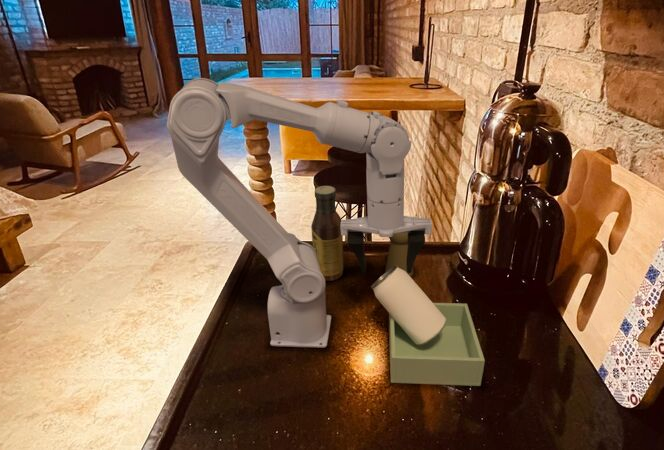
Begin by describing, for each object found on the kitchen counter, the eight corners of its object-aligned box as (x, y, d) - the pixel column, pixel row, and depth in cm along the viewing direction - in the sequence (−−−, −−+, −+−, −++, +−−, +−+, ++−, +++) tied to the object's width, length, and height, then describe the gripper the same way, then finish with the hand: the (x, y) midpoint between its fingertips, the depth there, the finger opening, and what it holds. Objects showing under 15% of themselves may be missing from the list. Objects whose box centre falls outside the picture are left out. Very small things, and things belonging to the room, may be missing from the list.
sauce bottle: (318, 265, 90) (313, 181, 81) (345, 267, 89) (343, 182, 81) (311, 282, 84) (305, 194, 76) (341, 284, 84) (338, 195, 75)
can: (450, 326, 63) (399, 266, 63) (417, 351, 63) (367, 293, 64) (445, 314, 69) (398, 261, 69) (415, 338, 70) (370, 285, 70)
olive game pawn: (414, 279, 85) (417, 232, 80) (386, 279, 85) (387, 232, 80) (411, 263, 91) (414, 219, 86) (384, 263, 91) (385, 219, 86)
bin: (390, 382, 61) (391, 357, 58) (388, 324, 72) (389, 301, 70) (480, 386, 60) (485, 360, 58) (463, 326, 72) (467, 303, 69)
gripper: (336, 207, 60) (342, 283, 66) (435, 206, 59) (431, 283, 65) (340, 190, 66) (345, 260, 73) (430, 188, 65) (427, 260, 71)
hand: (386, 269), depth 69 cm, fingers open, 7 cm apart
